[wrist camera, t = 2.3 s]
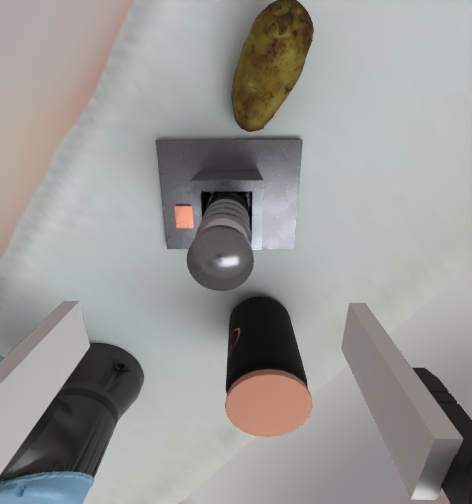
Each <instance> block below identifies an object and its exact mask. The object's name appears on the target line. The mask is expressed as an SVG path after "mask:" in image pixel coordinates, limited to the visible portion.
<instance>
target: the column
mask: <svg viewBox="0 0 472 504" xmlns="http://www.w3.org/2000/svg"><path fill="white" fill-rule="evenodd" d="M251 243H252V242H251V231H250V223H249V215H248V205H247V196H246V194H245V192H244V191H214V193H213V195H212V197H211V200H210V202H209V204H208V207H207V209H206V211H205V213H204V216H203V218H202V220H201V223H200V225H199V227H198V229H197V232H196V235H195V238H194V239H193V241H192V243H191V246H190V248H189V250H188V254H187V266H188V269H189V271H190V273H191V275H192V277H193V278H194V279H195V280H196V281H197V282H198V283H199V284H201V285H202V286H204V287H206V288H208V289H212V290H216V291H226V290H231V289H234V288H236V287H238V286H240V285H241V284H243V283H244V282H245V281H246V280H247V278H248V277H249V276H250V274H251V272H252V269H253V263H254V260H253V250H252V246H251Z"/></svg>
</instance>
